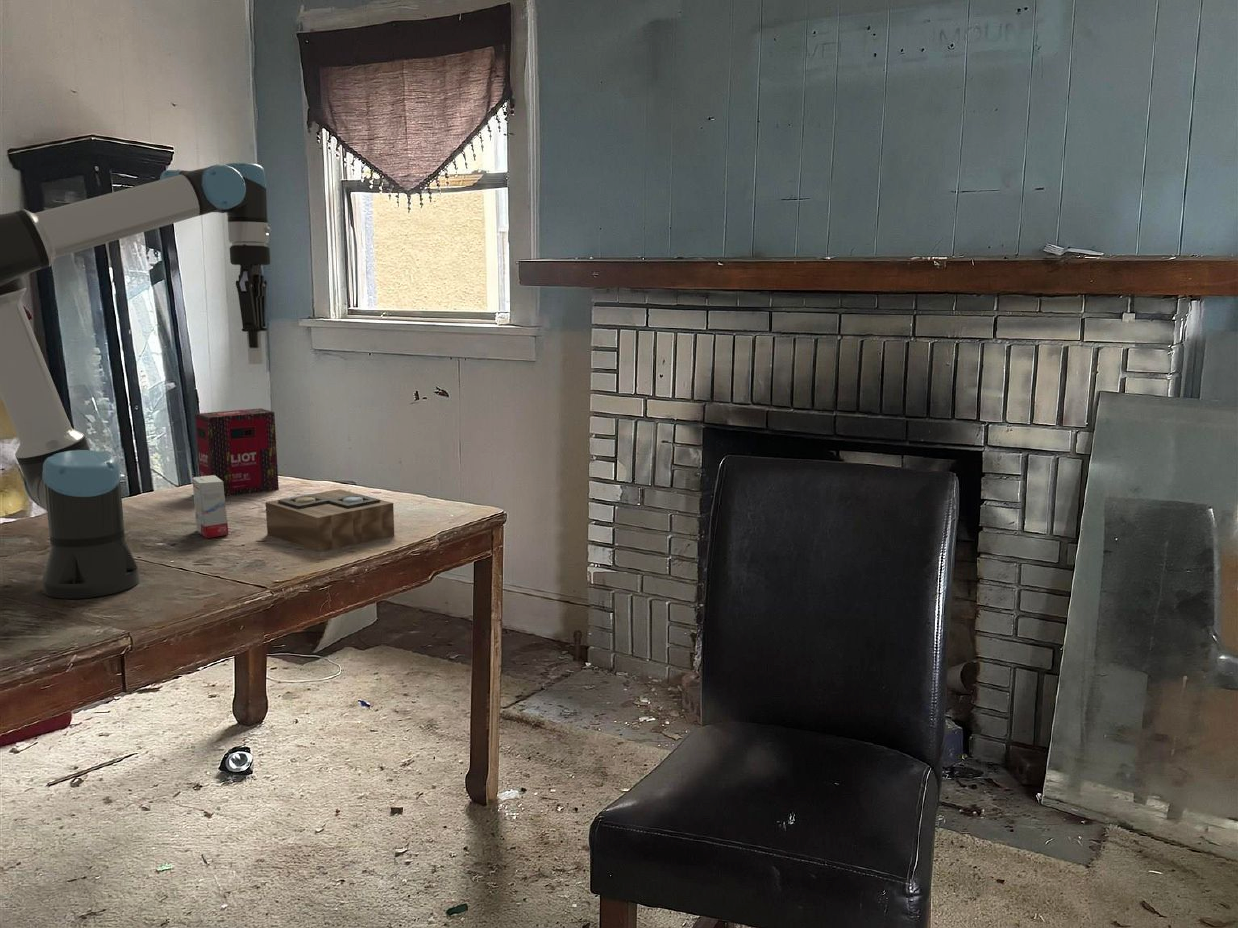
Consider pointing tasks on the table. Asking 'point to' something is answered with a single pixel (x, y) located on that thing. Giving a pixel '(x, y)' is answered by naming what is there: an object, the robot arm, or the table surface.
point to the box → (238, 449)
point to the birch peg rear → (305, 500)
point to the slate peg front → (352, 499)
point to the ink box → (210, 506)
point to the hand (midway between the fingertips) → (256, 363)
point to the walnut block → (330, 520)
